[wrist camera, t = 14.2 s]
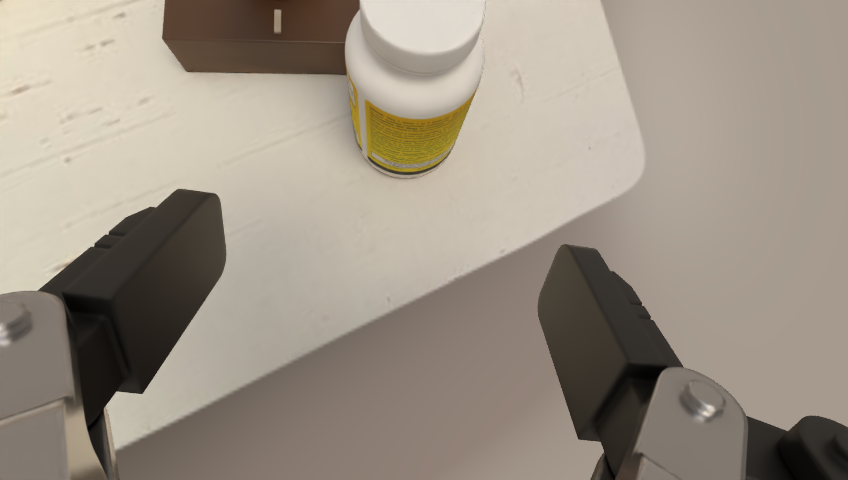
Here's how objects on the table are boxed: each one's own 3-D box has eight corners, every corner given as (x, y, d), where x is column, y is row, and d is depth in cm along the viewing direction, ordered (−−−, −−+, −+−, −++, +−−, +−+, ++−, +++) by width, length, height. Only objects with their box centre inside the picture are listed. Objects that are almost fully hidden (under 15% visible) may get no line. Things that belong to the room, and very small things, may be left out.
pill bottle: (473, 142, 26) (541, 16, 16) (397, 200, 25) (414, 106, 14) (410, 71, 27) (434, -100, 16) (333, 124, 25) (302, -23, 15)
